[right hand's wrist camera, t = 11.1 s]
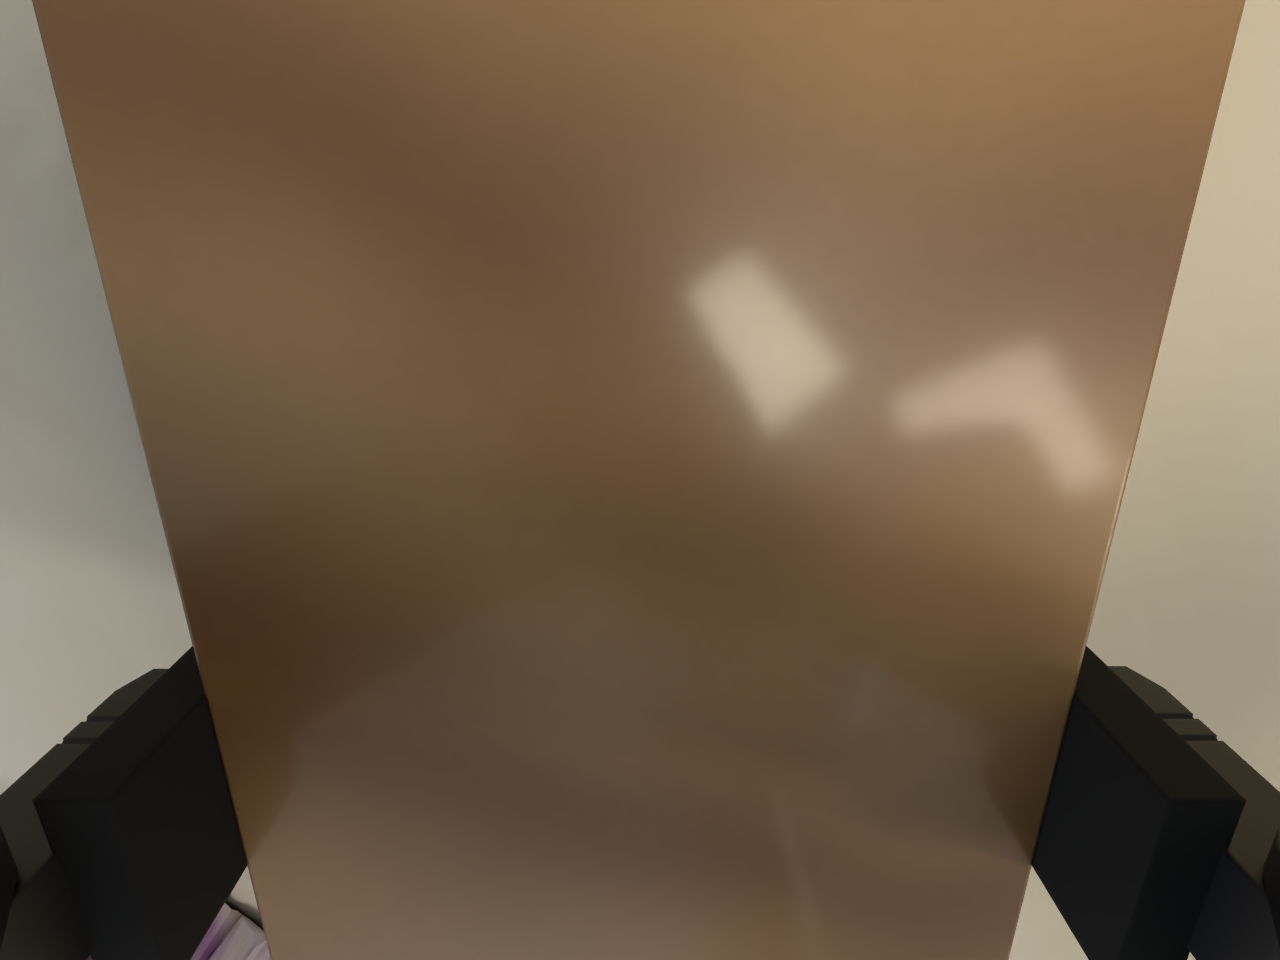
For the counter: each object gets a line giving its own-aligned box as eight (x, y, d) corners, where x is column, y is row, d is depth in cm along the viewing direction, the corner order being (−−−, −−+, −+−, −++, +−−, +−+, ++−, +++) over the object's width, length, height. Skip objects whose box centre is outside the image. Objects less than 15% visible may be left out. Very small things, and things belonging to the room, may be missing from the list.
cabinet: (285, -573, 11) (-631, -2629, 3) (991, -574, 11) (1903, -2631, 3) (430, 652, 18) (273, 977, 10) (849, 652, 18) (1006, 977, 10)
